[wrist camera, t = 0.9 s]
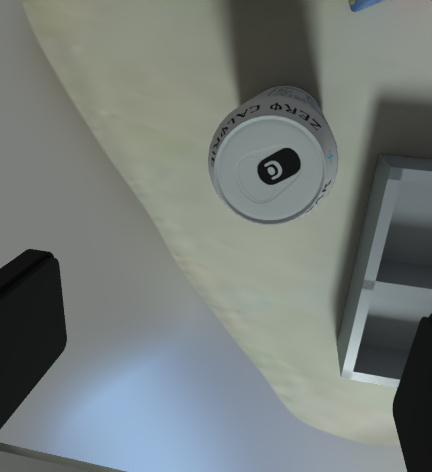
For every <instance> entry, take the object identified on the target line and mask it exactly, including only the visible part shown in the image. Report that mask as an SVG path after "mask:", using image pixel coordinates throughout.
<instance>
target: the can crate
mask: <svg viewBox="0 0 432 472" xmlns="http://www.w3.org/2000/svg"><path fill="white" fill-rule="evenodd" d="M431 313H432V159H425V158H415V157H405V156H395V155H385V154H378V159H377V164H376V168H375V173H374V177H373V182H372V186H371V191H370V195H369V200H368V204H367V209H366V213H365V218H364V222H363V227H362V231H361V236H360V240H359V245H358V249H357V254H356V258H355V263H354V267H353V272H352V276H351V281H350V285H349V290H348V295H347V299H346V304H345V308H344V313H343V317H342V322H341V326H340V331H339V335H338V340H337V351H338V358H339V366H340V374H341V378H346V379H352V380H357V381H363V382H368V383H374V384H379V385H385V386H391V387H396V388H398V386H399V383H400V380H401V377H402V374H403V371H404V367H405V364H406V361H407V358H408V355H409V352H410V349H411V346H412V343H413V340H414V337H415V334H416V331H417V328H418V325H419V322H420V320H421V318H422V317H429V315H430V314H431Z"/></svg>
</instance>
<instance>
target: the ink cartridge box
mask: <svg viewBox="0 0 432 472" xmlns="http://www.w3.org/2000/svg"><path fill="white" fill-rule="evenodd" d="M381 1H383V0H349V4H350V7H351V10H352V11H353V12H356V11H359V10H361V9H364V8H367V7H369V6H371V5H374V4H376V3H379V2H381Z"/></svg>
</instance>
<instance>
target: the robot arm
mask: <svg viewBox="0 0 432 472" xmlns="http://www.w3.org/2000/svg"><path fill="white" fill-rule="evenodd" d="M66 342H67V335H66V325H65V316H64V307H63V297H62V287H61V278H60V268H59V262H58V260H57V259H56V258H54V256H53V254H52V253H51V252H46V251H40V250H33V249H28V250H26V251H25V252H23V253H22V254H20V255H19V256H18V257H16V258H15V259H14V260H12V261H10V262H9V263H8V264H6V265H5V266H3V267H2V268H1V269H0V429H1V428H2V426H3V425H4V424H5V423H6V422H7V420H8V419H9V418H10V416H11V415H12V414H13V413H14V412H15V410H16V409H17V408H18V407H19V405H20V404H21V403H22V402H23V400H24V399H25V398H26V397H27V395H28V394H29V393H30V392H31V391H32V389H33V388H34V387H35V386H36V384H37V383H38V382H39V381H40V379H41V378H42V377H43V376H44V374H45V373H46V372H47V371H48V369H49V368H50V367H51V366H52V365H53V363H54V362H55V360H57V358H58V357H59V356H60V355H61V353H62V352H63V350H64V348H65V346H66ZM393 417H394V421H395V425H396V429H397V433H398V437H399V440H400V444H401V448H402V452H403V456H404V460H405V464H406V468H407V472H432V313H431V314H430V315H429V317H422V318H421V320H420V322H419V325H418V328H417V331H416V334H415V337H414V340H413V343H412V346H411V349H410V352H409V355H408V358H407V361H406V364H405V367H404V371H403V374H402V377H401V380H400V383H399V386H398V389H397V392H396V395H395V398H394V401H393ZM0 472H125V471H121V470H117V469H112V468H108V467H104V466H99V465H95V464H91V463H87V462H82V461H78V460H74V459H70V458H65V457H61V456H56V455H52V454H47V453H43V452H39V451H34V450H30V449H26V448H21V447H17V446H12V445H8V444H4V443H0Z"/></svg>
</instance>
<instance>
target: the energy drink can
mask: <svg viewBox="0 0 432 472" xmlns="http://www.w3.org/2000/svg"><path fill="white" fill-rule="evenodd" d="M208 164H209V173H210V177H211V181H212V184H213V186H214V188H215V190H216V192H217V194H218V196H219V197H220V198H221V200H222V201H223V202H224V204H225V205H227V206H228V207H229V208H230V209H231V210H232V211H233V212H234V213H235V214H237V215H238V216H240V217H241V218H243V219H245V220H247V221H250V222H252V223H256V224H261V225H278V224H284V223H290V222H292V221H295V220H298V219H301V218H302V217H304V216H306V215H307V214H309V213H311V212H312V211H313V210H314V209H316V208H317V207H318V206H319V205H320V204H321V203H322V202H323V200H324V199H325V198H326V196H327V195H328V194H329V192H330V190H331V188H332V186H333V184H334V181H335V177H336V174H337V169H338V152H337V146H336V142H335V139H334V137H333V134H332V131H331V129H330V127H329V125H328V123H327V121H326V119H325V117H324V115H323V112H322V110H321V108H320V106H319V105H318V103H317V102H316V100H315V99H314V98H313V97H312V96H311V95H310V94H308V93H307V92H305V91H304V90H302V89H300V88H297V87H294V86H287V85H285V86H276V87H272V88H269V89H267V90H265V91H263V92H261V93H260V94H258V95H256V96H255V97H253V98H252V99H250V100H248V101H247V102H245V103H244V104H242V105H240V106H239V107H238V108H236V109H235V110H234V111H232V112H231V113H230V114H229V115H228V116H227V117H226V118H225V119H224V120H223V121H222V123H221V124H220V125H219V127H218V129H217V130H216V132H215V134H214V136H213V139H212V142H211V145H210V149H209V157H208Z"/></svg>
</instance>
